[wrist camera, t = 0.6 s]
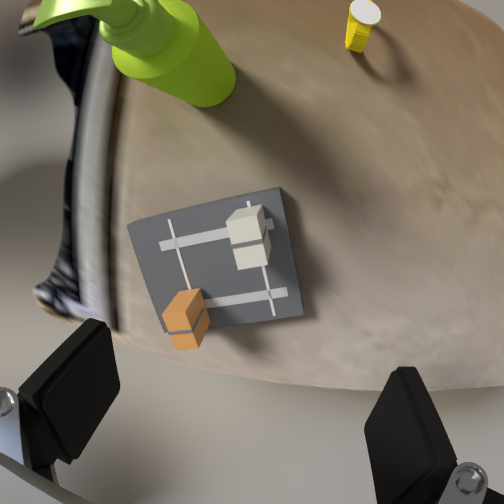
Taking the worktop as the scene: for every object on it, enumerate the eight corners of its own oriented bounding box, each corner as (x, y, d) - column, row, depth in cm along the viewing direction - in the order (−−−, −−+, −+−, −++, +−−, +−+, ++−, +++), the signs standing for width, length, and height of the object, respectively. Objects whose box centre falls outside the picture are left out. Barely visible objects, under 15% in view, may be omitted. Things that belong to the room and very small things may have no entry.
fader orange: (200, 287, 30) (185, 312, 26) (211, 321, 32) (198, 348, 27) (178, 291, 31) (160, 315, 26) (189, 323, 32) (175, 350, 27)
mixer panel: (279, 186, 29) (279, 189, 27) (303, 305, 32) (303, 315, 30) (135, 220, 31) (126, 225, 29) (170, 323, 35) (164, 333, 33)
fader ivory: (262, 204, 27) (257, 215, 22) (271, 245, 28) (268, 265, 23) (235, 209, 28) (224, 221, 23) (245, 250, 29) (237, 270, 24)
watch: (362, 60, 24) (378, 45, 18) (336, 53, 24) (346, 36, 19) (368, 13, 21) (383, -8, 16) (342, 6, 22) (352, -17, 16)
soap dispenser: (176, 52, 25) (51, -34, 6) (241, 57, 25) (170, -67, 6) (164, 104, 27) (14, 63, 8) (229, 110, 27) (128, 43, 8)
